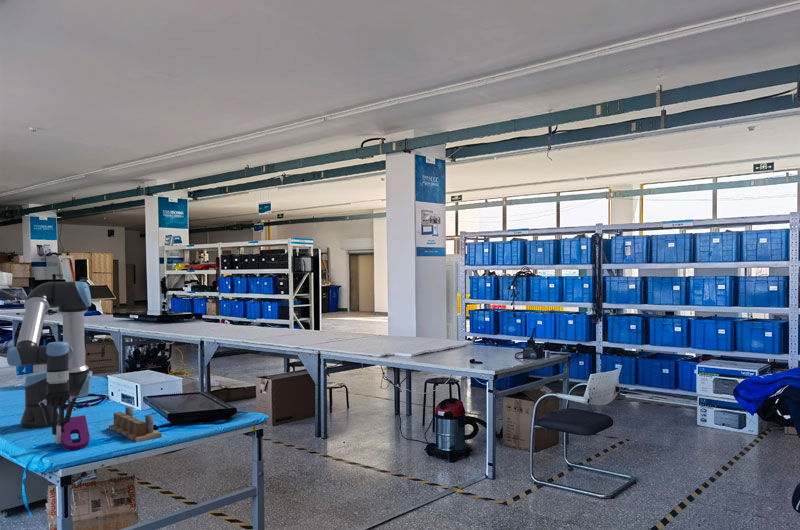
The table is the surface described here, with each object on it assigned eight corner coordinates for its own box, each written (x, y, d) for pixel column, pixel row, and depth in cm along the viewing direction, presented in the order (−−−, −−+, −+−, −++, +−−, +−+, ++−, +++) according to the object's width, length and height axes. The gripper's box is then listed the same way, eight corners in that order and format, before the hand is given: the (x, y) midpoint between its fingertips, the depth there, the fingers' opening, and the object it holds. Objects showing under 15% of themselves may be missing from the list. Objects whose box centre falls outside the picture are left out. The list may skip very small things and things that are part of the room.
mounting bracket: (89, 460, 225) (84, 431, 239) (91, 443, 223) (85, 415, 236) (62, 465, 220) (57, 435, 233) (63, 447, 217) (58, 418, 230)
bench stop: (108, 427, 252) (108, 408, 252) (132, 423, 259) (131, 404, 259) (136, 442, 229) (136, 420, 229) (161, 436, 236) (161, 416, 236)
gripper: (41, 385, 217) (41, 448, 216) (79, 380, 226) (79, 440, 225) (36, 383, 222) (36, 444, 222) (73, 378, 231) (73, 437, 231)
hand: (57, 442), depth 224 cm, fingers closed
